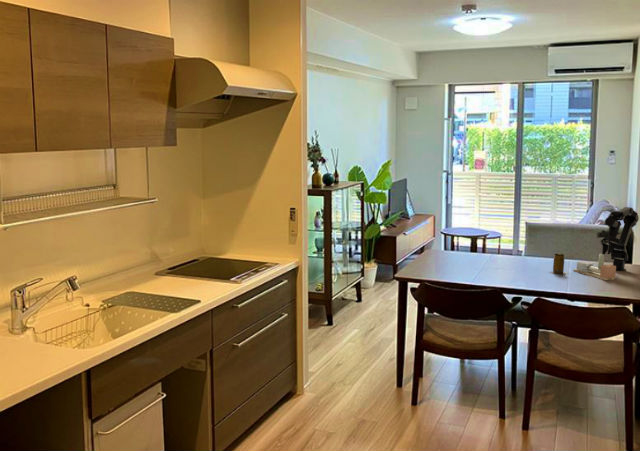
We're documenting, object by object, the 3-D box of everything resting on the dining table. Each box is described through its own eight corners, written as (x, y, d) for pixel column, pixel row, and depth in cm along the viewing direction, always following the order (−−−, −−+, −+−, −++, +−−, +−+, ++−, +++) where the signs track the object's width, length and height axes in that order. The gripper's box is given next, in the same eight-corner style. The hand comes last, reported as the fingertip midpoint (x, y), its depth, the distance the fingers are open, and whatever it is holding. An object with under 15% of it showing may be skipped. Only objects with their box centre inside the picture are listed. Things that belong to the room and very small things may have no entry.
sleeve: (582, 269, 391) (583, 261, 390) (592, 271, 384) (593, 263, 383) (576, 269, 389) (577, 261, 388) (586, 272, 382) (587, 264, 381)
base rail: (581, 270, 393) (582, 268, 393) (614, 279, 370) (615, 277, 369) (573, 270, 390) (573, 269, 390) (605, 280, 367) (606, 278, 367)
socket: (609, 275, 374) (610, 264, 373) (615, 277, 369) (616, 266, 368) (600, 276, 371) (601, 265, 370) (606, 278, 367) (607, 266, 366)
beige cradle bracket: (590, 270, 384) (592, 251, 382) (610, 275, 370) (612, 256, 369) (586, 270, 383) (588, 251, 381) (606, 276, 369) (607, 256, 367)
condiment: (556, 271, 389) (557, 252, 387) (568, 273, 383) (570, 254, 381) (549, 272, 385) (551, 253, 383) (562, 275, 378) (564, 255, 376)
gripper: (595, 227, 393) (587, 250, 392) (605, 224, 374) (597, 249, 374) (613, 233, 391) (605, 256, 391) (624, 230, 373) (616, 255, 372)
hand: (605, 254), depth 382 cm, fingers open, 9 cm apart
